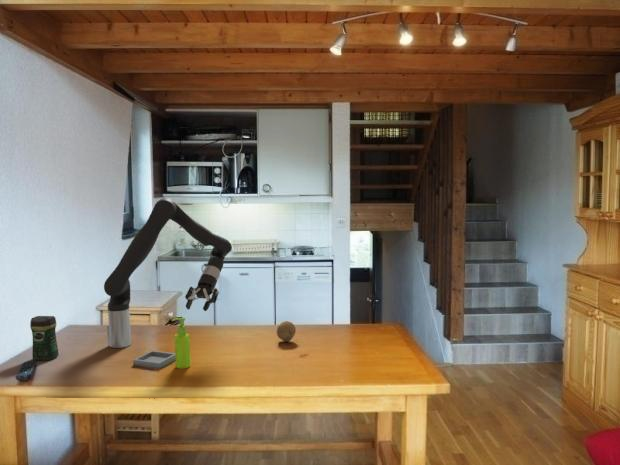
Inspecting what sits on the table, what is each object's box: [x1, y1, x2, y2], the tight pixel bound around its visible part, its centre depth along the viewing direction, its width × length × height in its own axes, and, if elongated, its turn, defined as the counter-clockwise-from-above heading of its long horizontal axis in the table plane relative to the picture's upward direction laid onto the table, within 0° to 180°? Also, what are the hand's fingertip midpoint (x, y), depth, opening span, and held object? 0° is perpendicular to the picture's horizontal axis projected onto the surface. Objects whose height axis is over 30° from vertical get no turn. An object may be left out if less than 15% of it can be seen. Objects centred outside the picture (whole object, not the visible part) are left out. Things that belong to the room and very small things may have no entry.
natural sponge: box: [276, 320, 297, 343], centre depth 225 cm, size 9×9×10 cm
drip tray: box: [132, 350, 176, 370], centre depth 202 cm, size 13×12×2 cm
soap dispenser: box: [170, 317, 192, 369], centre depth 197 cm, size 6×7×20 cm
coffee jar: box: [29, 315, 59, 361], centre depth 208 cm, size 10×8×19 cm
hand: (195, 309), depth 206 cm, fingers open, 8 cm apart
